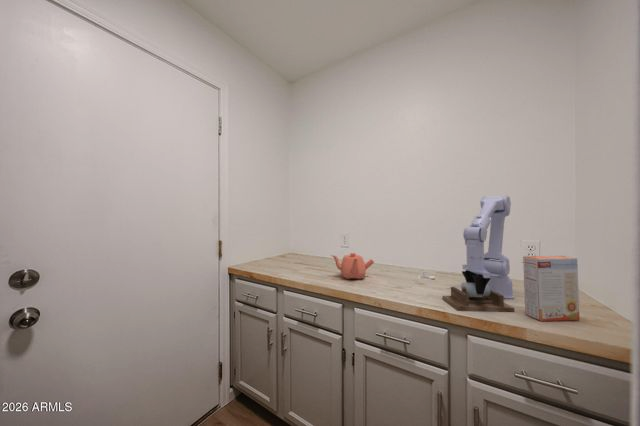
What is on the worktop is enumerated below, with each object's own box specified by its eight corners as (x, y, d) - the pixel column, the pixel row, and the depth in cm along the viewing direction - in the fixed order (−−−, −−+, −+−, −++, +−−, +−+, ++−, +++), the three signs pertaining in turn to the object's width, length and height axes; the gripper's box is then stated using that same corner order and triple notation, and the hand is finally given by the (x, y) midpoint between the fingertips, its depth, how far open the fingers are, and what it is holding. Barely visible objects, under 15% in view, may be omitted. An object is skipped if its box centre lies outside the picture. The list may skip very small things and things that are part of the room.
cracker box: (561, 313, 82) (559, 255, 83) (580, 321, 76) (579, 258, 77) (523, 314, 82) (522, 255, 82) (540, 321, 76) (538, 258, 76)
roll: (482, 293, 93) (482, 281, 93) (490, 298, 88) (490, 285, 88) (460, 293, 93) (460, 280, 93) (467, 297, 88) (467, 284, 88)
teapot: (356, 283, 120) (356, 257, 120) (330, 277, 133) (330, 253, 133) (375, 277, 132) (375, 253, 133) (350, 272, 145) (350, 250, 146)
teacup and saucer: (437, 280, 128) (437, 272, 128) (426, 281, 125) (426, 273, 125) (425, 276, 136) (425, 269, 136) (414, 277, 133) (414, 270, 133)
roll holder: (491, 300, 96) (491, 286, 96) (514, 312, 84) (514, 296, 84) (442, 299, 97) (442, 286, 97) (457, 310, 85) (457, 295, 85)
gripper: (455, 254, 98) (455, 286, 98) (475, 260, 84) (476, 298, 83) (472, 254, 98) (472, 286, 97) (496, 260, 83) (496, 298, 83)
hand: (475, 291), depth 90 cm, fingers closed on roll, 5 cm apart
